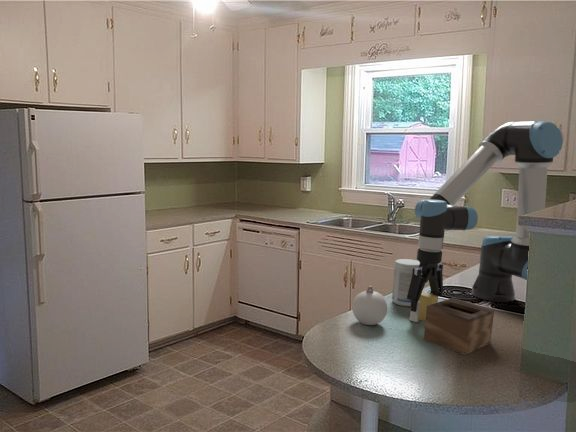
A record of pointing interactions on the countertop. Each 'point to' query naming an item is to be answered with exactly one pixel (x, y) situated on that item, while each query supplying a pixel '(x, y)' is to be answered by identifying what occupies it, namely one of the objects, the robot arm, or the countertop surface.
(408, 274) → the supplement tub
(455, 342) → the brown wooden slotted box
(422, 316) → the yellow rectangular block
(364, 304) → the ornament
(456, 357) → the countertop surface
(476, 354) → the countertop surface
